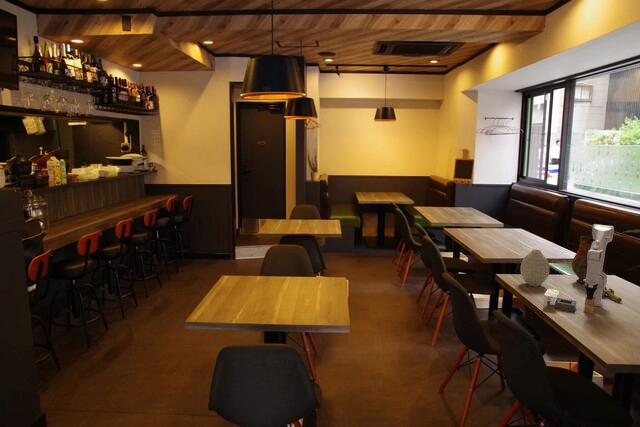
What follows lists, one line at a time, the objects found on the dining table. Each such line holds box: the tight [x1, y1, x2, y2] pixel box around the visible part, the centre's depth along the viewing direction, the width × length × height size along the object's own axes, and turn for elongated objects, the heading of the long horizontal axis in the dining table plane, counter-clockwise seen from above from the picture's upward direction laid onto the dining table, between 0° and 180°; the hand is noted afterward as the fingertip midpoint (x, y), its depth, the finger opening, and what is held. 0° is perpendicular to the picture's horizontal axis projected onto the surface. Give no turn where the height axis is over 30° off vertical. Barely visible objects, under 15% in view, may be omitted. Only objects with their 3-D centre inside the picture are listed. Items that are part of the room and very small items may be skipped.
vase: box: [520, 248, 550, 288], centre depth 295 cm, size 16×16×22 cm
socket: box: [554, 297, 577, 313], centre depth 256 cm, size 9×9×4 cm
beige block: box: [543, 288, 561, 309], centre depth 259 cm, size 14×6×7 cm, turn 146°
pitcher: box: [571, 235, 595, 286], centre depth 300 cm, size 17×21×30 cm
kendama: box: [602, 287, 623, 304], centre depth 275 cm, size 8×6×18 cm
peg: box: [583, 295, 595, 315], centre depth 250 cm, size 4×4×8 cm
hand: (590, 297), depth 250 cm, fingers open, 7 cm apart
